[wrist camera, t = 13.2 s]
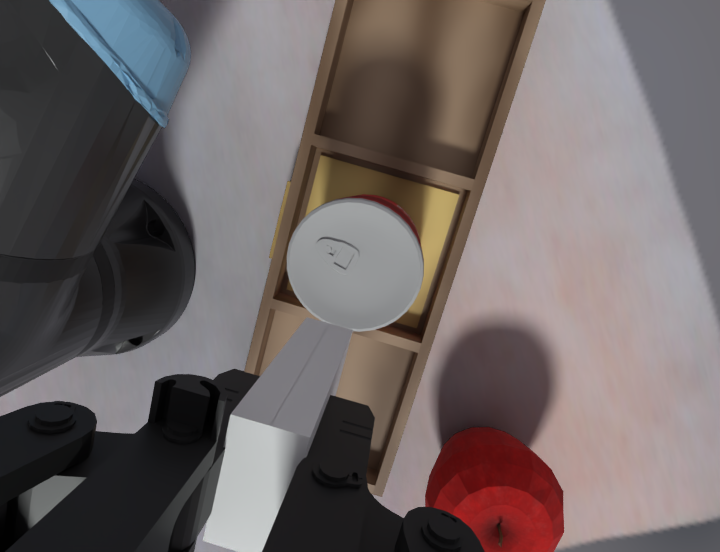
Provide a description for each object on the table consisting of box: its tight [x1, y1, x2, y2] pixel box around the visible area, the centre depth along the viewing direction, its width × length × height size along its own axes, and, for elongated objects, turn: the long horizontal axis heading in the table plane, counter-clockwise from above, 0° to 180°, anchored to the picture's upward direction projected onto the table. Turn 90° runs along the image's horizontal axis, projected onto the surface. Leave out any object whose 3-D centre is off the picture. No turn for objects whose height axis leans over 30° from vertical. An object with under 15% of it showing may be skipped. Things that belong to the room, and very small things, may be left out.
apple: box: [425, 427, 564, 552], centre depth 36 cm, size 10×10×11 cm
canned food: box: [287, 194, 424, 332], centre depth 33 cm, size 8×8×11 cm
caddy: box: [244, 0, 546, 497], centre depth 38 cm, size 14×39×3 cm, turn 164°
